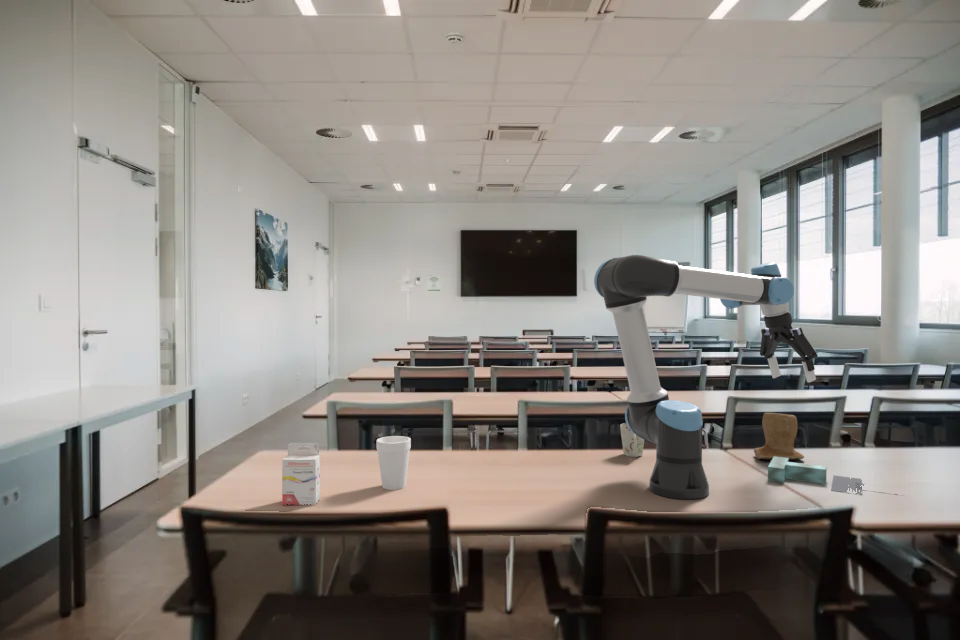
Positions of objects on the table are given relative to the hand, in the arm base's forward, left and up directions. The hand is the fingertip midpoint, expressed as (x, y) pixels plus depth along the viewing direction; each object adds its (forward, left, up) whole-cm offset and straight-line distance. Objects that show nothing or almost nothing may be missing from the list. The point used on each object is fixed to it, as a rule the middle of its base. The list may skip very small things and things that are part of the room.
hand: (793, 378), depth 183 cm
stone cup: (-6, +9, -27) cm, 29 cm away
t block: (+2, -13, -27) cm, 30 cm away
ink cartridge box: (-103, -103, -27) cm, 148 cm away
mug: (-46, -13, -27) cm, 55 cm away
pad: (+19, -13, -27) cm, 36 cm away
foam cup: (-92, -80, -27) cm, 125 cm away
